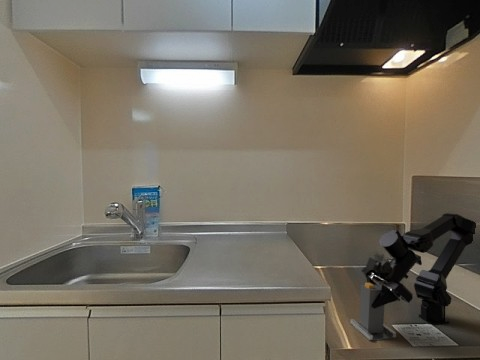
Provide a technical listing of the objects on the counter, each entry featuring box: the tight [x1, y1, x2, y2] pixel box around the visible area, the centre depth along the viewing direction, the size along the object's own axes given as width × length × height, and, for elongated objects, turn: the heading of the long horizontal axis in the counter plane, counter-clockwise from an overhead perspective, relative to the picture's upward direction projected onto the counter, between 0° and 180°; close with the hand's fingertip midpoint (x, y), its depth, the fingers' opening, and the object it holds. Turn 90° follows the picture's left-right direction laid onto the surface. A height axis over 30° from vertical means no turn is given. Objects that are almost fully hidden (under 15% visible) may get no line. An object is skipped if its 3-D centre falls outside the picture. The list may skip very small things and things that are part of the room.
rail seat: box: [349, 318, 397, 342], centre depth 100 cm, size 8×11×2 cm
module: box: [358, 282, 385, 333], centre depth 100 cm, size 5×5×14 cm
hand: (367, 303), depth 99 cm, fingers closed on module, 5 cm apart
